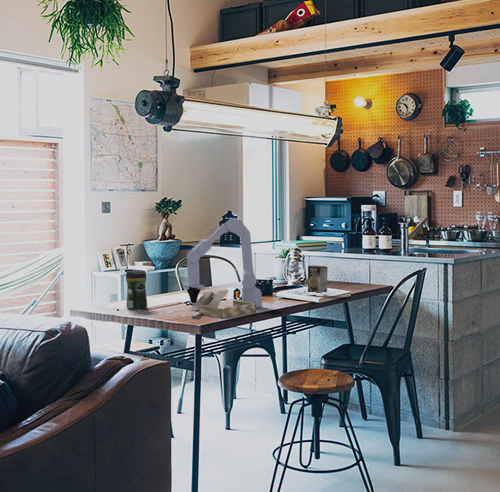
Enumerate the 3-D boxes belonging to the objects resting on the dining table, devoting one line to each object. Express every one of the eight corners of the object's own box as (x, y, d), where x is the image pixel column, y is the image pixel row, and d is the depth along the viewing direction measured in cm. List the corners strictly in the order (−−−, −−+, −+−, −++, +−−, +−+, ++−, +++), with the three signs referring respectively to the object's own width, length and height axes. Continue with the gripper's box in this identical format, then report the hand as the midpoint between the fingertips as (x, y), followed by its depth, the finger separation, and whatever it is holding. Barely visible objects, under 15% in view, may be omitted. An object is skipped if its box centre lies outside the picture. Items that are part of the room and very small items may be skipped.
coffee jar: (140, 306, 339) (139, 268, 338) (149, 308, 333) (149, 270, 332) (123, 308, 332) (122, 270, 331) (132, 310, 327) (132, 271, 325)
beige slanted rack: (224, 320, 321) (236, 296, 331) (215, 308, 317) (227, 284, 326) (197, 322, 331) (209, 299, 340) (188, 310, 326) (200, 287, 336)
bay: (234, 308, 331) (234, 300, 331) (256, 312, 320) (256, 303, 320) (199, 313, 316) (199, 305, 316) (220, 317, 305) (220, 309, 305)
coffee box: (307, 295, 375) (307, 265, 373) (315, 294, 379) (315, 265, 378) (319, 297, 368) (319, 267, 367) (327, 295, 372) (327, 266, 371)
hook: (201, 315, 313) (201, 312, 313) (207, 315, 312) (207, 313, 311) (191, 318, 304) (191, 316, 304) (198, 319, 303) (198, 316, 303)
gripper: (177, 275, 338) (178, 302, 338) (196, 277, 327) (196, 305, 328) (189, 273, 342) (189, 301, 343) (207, 276, 332) (208, 304, 333)
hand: (193, 303), depth 336 cm, fingers closed
